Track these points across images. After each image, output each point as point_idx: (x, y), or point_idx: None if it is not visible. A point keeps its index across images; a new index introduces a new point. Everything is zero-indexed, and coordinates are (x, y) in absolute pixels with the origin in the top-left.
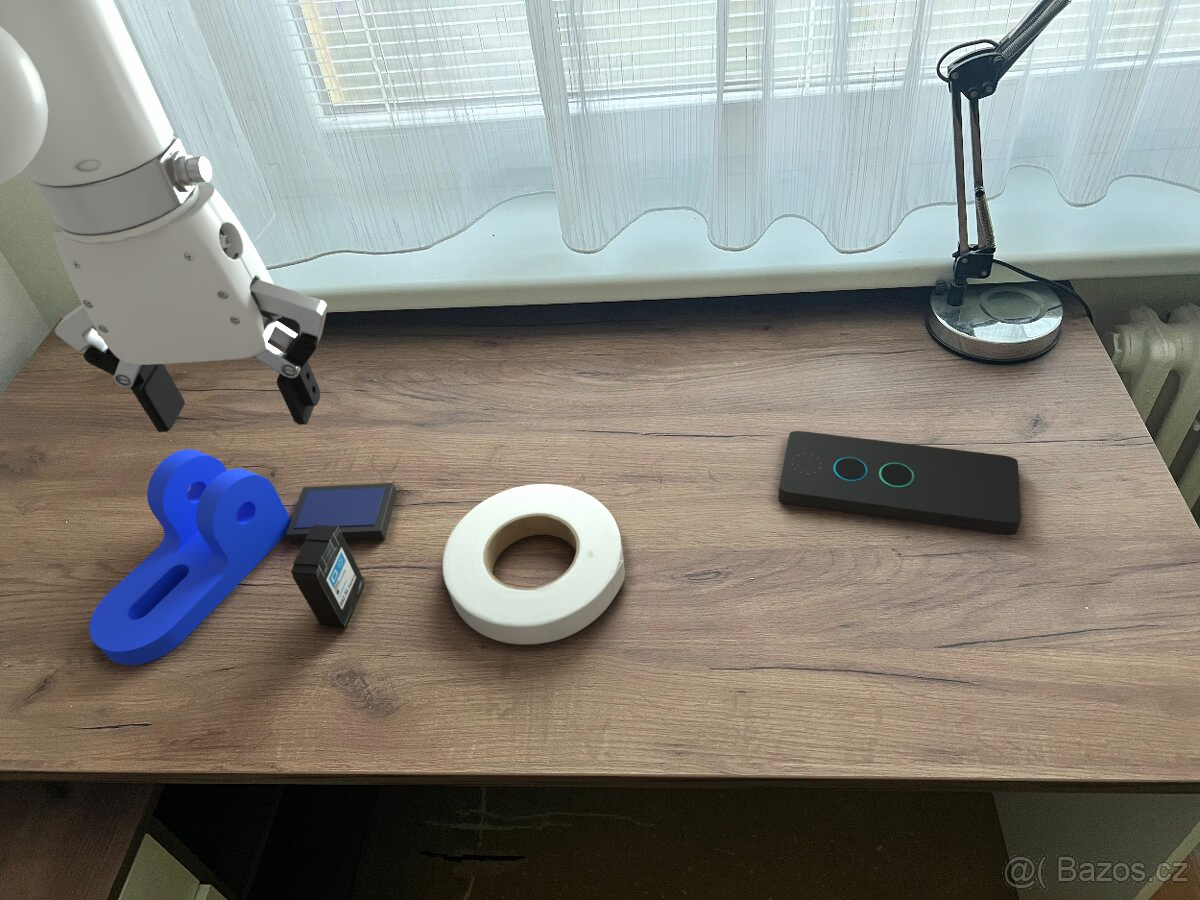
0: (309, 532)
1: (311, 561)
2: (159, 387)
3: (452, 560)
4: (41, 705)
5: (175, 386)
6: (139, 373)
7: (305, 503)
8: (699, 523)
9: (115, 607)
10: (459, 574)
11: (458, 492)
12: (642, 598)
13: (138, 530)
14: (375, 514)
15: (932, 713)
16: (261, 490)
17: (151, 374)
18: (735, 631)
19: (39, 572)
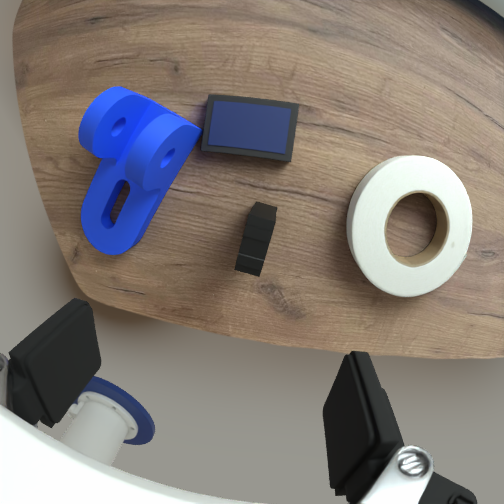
0: (246, 227)
1: (253, 264)
2: (58, 380)
3: (360, 225)
4: (81, 266)
5: (68, 328)
6: (32, 424)
7: (214, 116)
8: (498, 212)
9: (92, 215)
10: (364, 241)
11: (354, 121)
12: None
13: None
14: (284, 141)
15: None
16: (178, 135)
17: (38, 394)
18: (485, 293)
19: (43, 164)
